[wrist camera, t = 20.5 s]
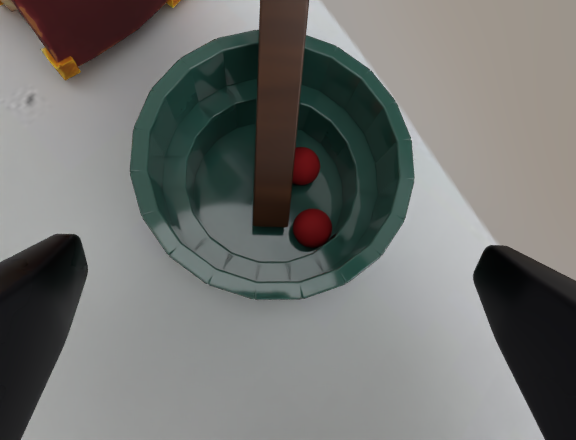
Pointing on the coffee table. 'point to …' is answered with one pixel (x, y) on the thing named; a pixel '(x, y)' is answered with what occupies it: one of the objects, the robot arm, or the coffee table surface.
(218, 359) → the coffee table surface
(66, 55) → the book monster
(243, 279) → the bowl
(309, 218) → the berry
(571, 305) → the robot arm
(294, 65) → the stick
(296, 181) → the berry
